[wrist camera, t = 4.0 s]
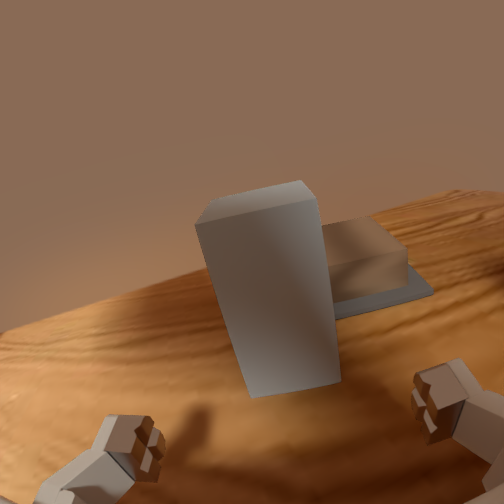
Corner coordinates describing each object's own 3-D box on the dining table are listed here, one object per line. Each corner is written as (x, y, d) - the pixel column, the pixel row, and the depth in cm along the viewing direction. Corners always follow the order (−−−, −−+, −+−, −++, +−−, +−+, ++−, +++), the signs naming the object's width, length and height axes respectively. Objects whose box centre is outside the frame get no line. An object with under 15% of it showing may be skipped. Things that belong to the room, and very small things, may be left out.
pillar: (250, 398, 16) (194, 224, 13) (252, 345, 21) (211, 199, 18) (341, 382, 16) (316, 197, 12) (326, 330, 20) (300, 180, 17)
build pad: (274, 332, 22) (273, 327, 22) (269, 264, 33) (269, 260, 33) (433, 294, 21) (433, 289, 20) (381, 240, 32) (380, 237, 32)
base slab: (292, 311, 23) (285, 275, 22) (284, 263, 31) (278, 234, 30) (408, 285, 22) (407, 248, 21) (372, 244, 30) (369, 216, 29)
